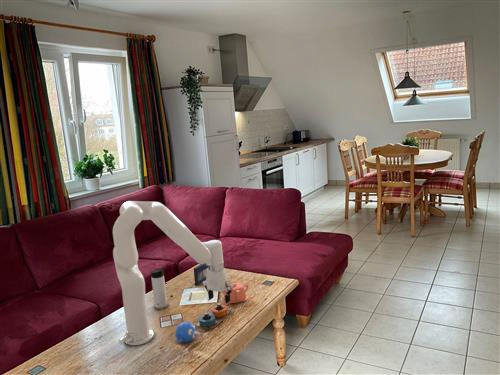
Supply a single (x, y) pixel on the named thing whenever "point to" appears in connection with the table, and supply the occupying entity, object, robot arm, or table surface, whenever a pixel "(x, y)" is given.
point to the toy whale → (186, 332)
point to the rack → (215, 316)
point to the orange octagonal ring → (220, 312)
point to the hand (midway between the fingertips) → (219, 300)
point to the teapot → (237, 293)
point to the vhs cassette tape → (200, 273)
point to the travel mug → (159, 289)
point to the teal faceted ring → (207, 322)
